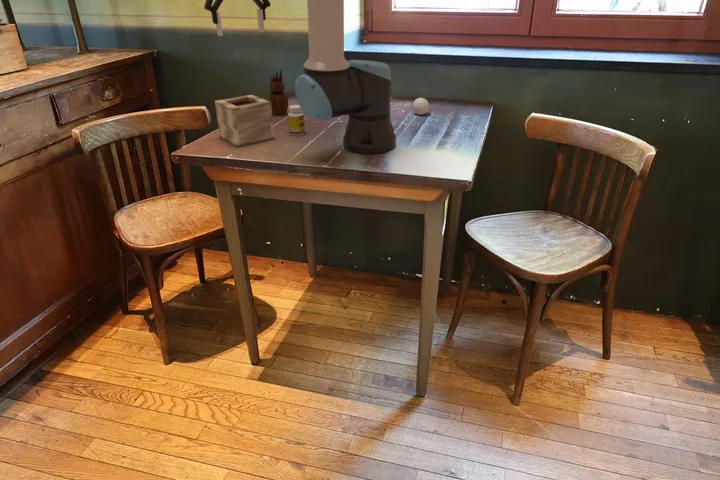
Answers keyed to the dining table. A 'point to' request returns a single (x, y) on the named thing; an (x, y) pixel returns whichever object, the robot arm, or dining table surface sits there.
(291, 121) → the supplement bottle
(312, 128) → the dining table surface
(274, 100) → the wooden figurine
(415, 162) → the dining table surface
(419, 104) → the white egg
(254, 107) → the drop box
